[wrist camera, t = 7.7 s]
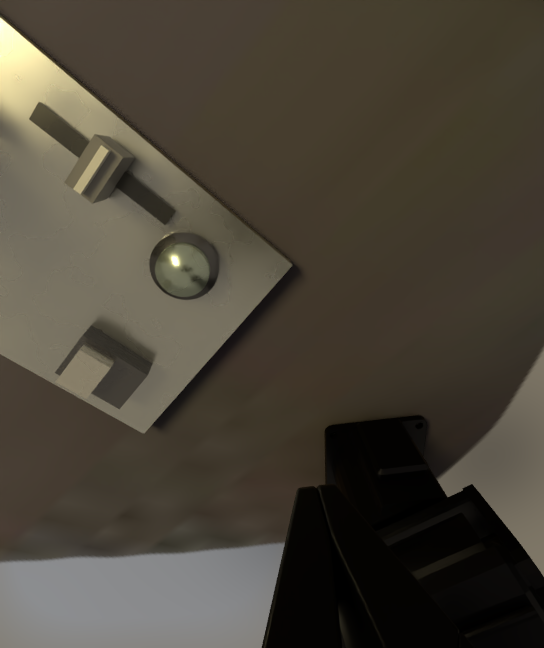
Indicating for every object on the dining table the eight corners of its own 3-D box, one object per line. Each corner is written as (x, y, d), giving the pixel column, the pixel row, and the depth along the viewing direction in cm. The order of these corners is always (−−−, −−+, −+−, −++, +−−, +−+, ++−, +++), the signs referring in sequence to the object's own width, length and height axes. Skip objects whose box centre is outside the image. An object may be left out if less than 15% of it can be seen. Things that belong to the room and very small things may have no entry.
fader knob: (135, 157, 16) (120, 157, 14) (107, 199, 16) (89, 204, 14) (109, 136, 15) (91, 133, 14) (82, 180, 16) (60, 182, 14)
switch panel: (290, 260, 19) (302, 283, 16) (147, 422, 23) (130, 473, 19) (-137, -103, 13) (-283, -205, 9) (-248, 198, 16) (-388, 209, 13)
